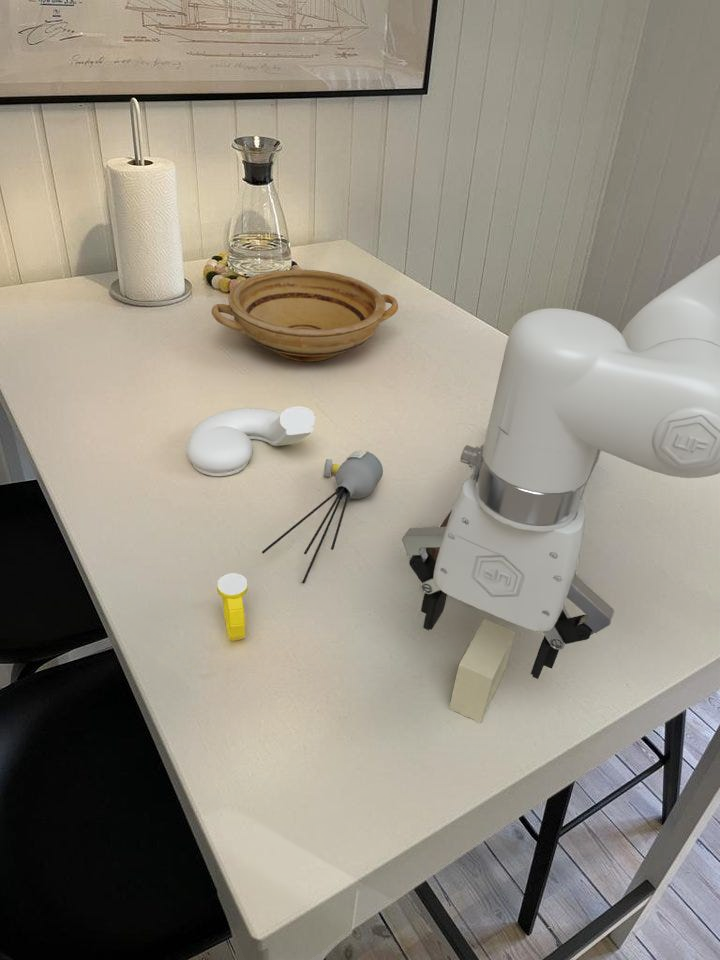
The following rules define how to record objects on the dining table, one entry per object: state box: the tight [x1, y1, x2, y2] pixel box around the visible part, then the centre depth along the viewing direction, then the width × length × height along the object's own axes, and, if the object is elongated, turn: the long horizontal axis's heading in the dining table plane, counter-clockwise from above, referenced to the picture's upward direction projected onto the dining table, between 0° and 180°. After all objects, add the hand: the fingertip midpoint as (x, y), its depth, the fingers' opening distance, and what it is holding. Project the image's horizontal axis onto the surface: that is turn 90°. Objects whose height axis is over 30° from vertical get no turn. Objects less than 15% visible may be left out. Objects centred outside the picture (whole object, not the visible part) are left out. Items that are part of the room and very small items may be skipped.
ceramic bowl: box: [211, 269, 399, 362], centre depth 118 cm, size 30×24×8 cm
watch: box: [216, 572, 249, 642], centre depth 70 cm, size 6×3×6 cm, turn 16°
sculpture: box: [186, 405, 316, 477], centre depth 93 cm, size 12×15×8 cm
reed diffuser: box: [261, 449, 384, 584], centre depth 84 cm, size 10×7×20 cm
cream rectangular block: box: [448, 618, 516, 724], centre depth 66 cm, size 3×6×6 cm, turn 152°
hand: (484, 642), depth 64 cm, fingers open, 9 cm apart
